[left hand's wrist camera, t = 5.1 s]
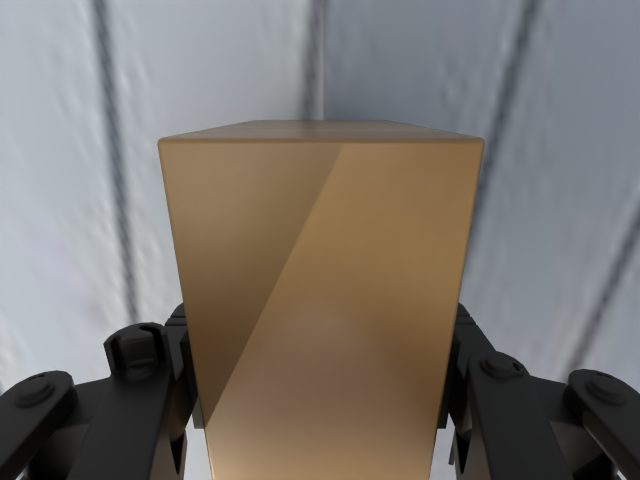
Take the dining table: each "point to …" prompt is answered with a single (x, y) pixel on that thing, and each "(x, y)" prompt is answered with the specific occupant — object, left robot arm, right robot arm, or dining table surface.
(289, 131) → the bar
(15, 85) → the dining table surface
